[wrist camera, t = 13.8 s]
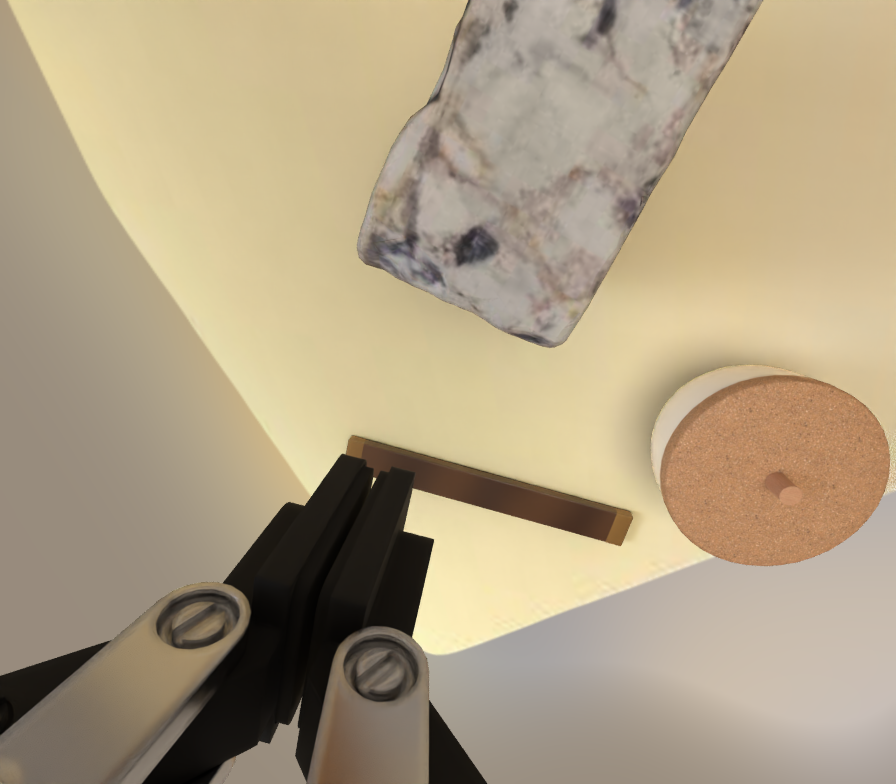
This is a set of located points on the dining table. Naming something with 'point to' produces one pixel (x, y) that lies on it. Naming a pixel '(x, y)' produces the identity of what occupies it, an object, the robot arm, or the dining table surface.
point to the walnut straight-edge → (498, 492)
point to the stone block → (543, 151)
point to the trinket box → (767, 464)
